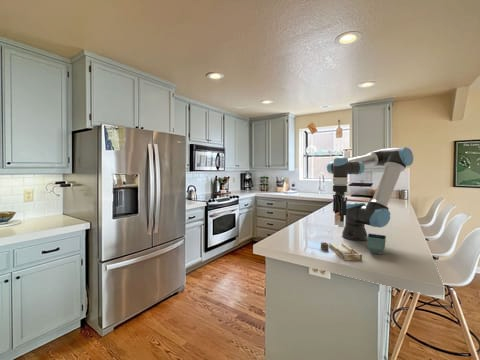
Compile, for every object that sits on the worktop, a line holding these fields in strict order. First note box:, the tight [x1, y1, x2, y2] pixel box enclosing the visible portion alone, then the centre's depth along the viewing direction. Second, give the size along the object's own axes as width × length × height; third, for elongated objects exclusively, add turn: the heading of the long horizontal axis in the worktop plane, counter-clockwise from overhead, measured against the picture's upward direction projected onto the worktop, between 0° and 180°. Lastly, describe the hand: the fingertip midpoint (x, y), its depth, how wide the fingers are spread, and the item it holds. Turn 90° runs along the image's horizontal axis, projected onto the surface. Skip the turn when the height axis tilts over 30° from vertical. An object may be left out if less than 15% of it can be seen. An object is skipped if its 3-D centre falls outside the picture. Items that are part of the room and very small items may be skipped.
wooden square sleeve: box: [320, 241, 329, 251], centre depth 138 cm, size 3×3×4 cm
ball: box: [333, 212, 340, 221], centre depth 138 cm, size 5×5×5 cm
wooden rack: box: [335, 248, 363, 261], centre depth 127 cm, size 9×9×3 cm
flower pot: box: [366, 232, 387, 255], centre depth 133 cm, size 9×9×9 cm
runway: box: [328, 242, 353, 254], centre depth 137 cm, size 8×12×2 cm, turn 0°
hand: (339, 225), depth 138 cm, fingers closed on ball, 5 cm apart
